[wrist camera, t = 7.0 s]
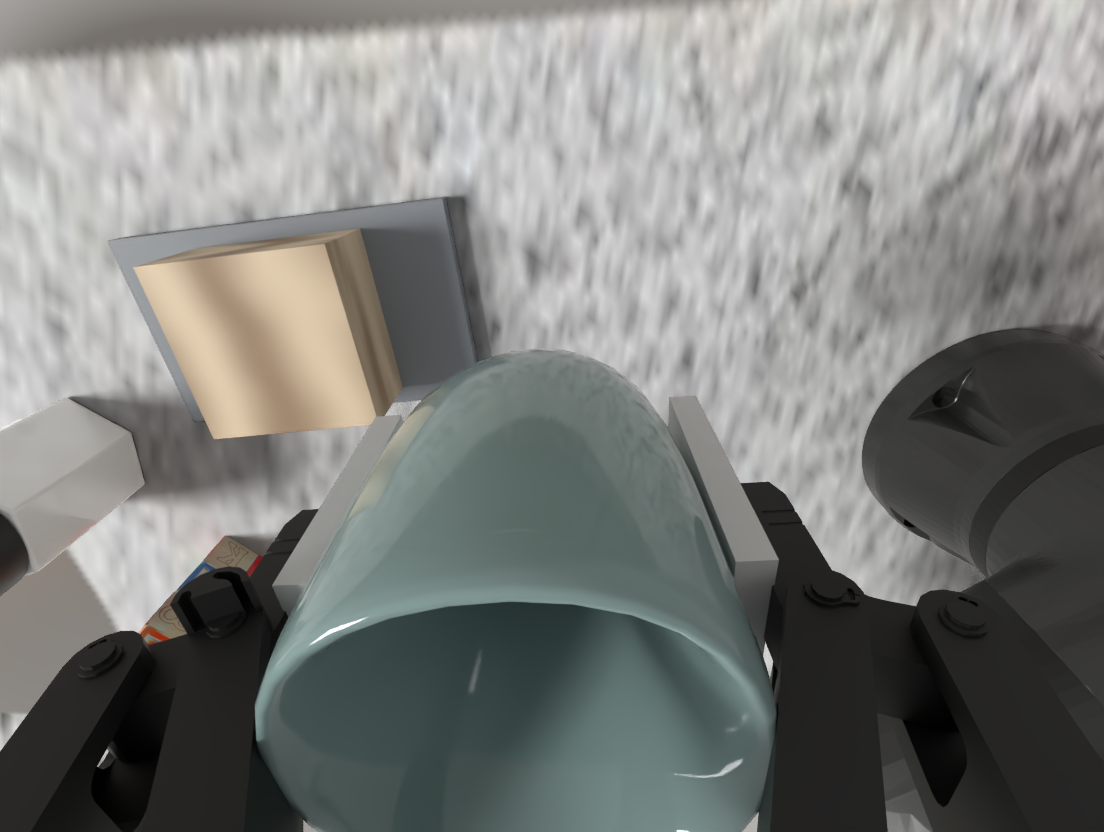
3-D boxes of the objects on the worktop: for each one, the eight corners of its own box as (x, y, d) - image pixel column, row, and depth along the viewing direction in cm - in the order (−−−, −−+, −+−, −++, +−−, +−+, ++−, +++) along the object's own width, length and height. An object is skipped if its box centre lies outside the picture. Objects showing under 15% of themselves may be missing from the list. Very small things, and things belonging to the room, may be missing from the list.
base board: (445, 196, 31) (442, 198, 30) (483, 387, 36) (480, 394, 35) (119, 238, 32) (106, 240, 31) (202, 415, 38) (193, 421, 37)
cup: (456, 544, 19) (367, 911, 10) (377, 340, 15) (131, 635, 6) (678, 510, 18) (790, 877, 9) (651, 285, 14) (794, 538, 6)
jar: (7, 389, 37) (-219, 490, 27) (127, 403, 37) (-49, 510, 27) (47, 493, 41) (-134, 618, 31) (155, 506, 42) (12, 634, 31)
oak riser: (359, 228, 30) (324, 244, 26) (402, 387, 35) (378, 424, 31) (194, 248, 31) (132, 267, 27) (257, 401, 36) (213, 439, 31)
